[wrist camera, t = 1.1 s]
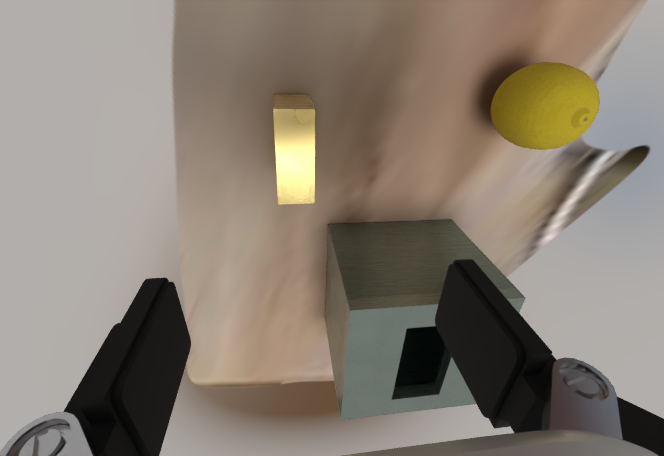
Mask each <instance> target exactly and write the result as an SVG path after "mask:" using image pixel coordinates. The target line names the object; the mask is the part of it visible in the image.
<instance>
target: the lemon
mask: <svg viewBox="0 0 664 456" xmlns="http://www.w3.org/2000/svg"><path fill="white" fill-rule="evenodd" d="M599 104H600V99H599V91H598V89H597V86H596V84H595V82H594V81H593V80H592V79H591V78H590V77H589V76H588V75H587V74H586V73H584V72H583V71H581V70H579V69H576V68H574V67H572V66H569V65H566V64H562V63H549V62H544V63H537V64H533V65H529V66H526V67H524V68H522V69H520V70H518V71H516V72H514V73H513V74H512V75H510V76H509V77H508V78H507V79H505V80H504V82H503V83H502V84H501V85H500V86H499V88H498V89H497V91H496V93H495V95H494V97H493V100H492V104H491V118H492V122H493V124H494V126H495V129H496V130H497V131H498V132H499V133H500V135H501V136H502V137H503V138H504V139H506V140H507V141H509V142H511V143H513V144H515V145H517V146H520V147H524V148H530V149H538V150H545V149H553V148H558V147H561V146H564V145H566V144H569V143H571V142H572V141H574V140H576V139H577V138H579V137H580V136H581V135H582V134H583V133H585V132H586V130H587V129H588V128H589V127H590V126H591V124H592V123H593V121H594V119H595V118H596V115H597V112H598V109H599Z"/></svg>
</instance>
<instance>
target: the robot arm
mask: <svg viewBox="0 0 664 456" xmlns="http://www.w3.org/2000/svg"><path fill="white" fill-rule="evenodd" d="M435 325H436V328H437V330H438V332H439V334H440V335H441V337H442V339H443V341H444V343H445V345H446V347H447V349H448V351H449V352H450V354H451V356H452V358H453V360H454V362H455V364H456V366H457V368H458V369H459V371H460V373H461V375H462V377H463V379H464V381H465V383H466V385H467V386H468V388H469V390H470V392H471V394H472V396H473V398H474V400H475V402H476V403H477V405H478V407H479V409H480V411H481V413H482V414H483V416H484V417H486V418H489V420H490V421H491V423H492V425H493V427H494V428H501V427H508V426H511V428H512V429H513V431H514V433H513V434H503V435H494V436H485V437H477V438H470V439H462V440H455V441H447V442H439V443H432V444H424V445H417V446H409V447H402V448H396V449H395V448H394V449H387V450H381V451H372V452H366V453H358V454H350V455H343V456H664V419H663V418H661V417H659V416H656V415H655V414H652V413H650V412H648V411H646V410H644V409H642V408H640V407H638V406H636V405H633V404H632V403H629V402H627V401H625V400H623V399H621V398H619V397H617V395H616V392H615V389H614V387H613V385H612V384H611V382H610V381H609V380H608V379H607V378H606V377H605V376H604V375H603V374H602V373H601V372H600V371H598V370H597V369H596V368H594V367H593V366H591V365H589V364H587V363H585V362H583V361H580V360H577V359H574V358H561V359H558V360H556V359H555V358H554V357H553V355H552V351H551V350H550V349H549V348H548V347H547V346H546V344H545V343H544V342H543V341H542V340H541V339H540V337H539V336H538V335H537V334H536V333H535V331H534V330H533V329H532V328H531V327H530V326H529V325H528V323H527V322H526V321H525V320H524V319H523V317H522V316H521V315H520V314H519V313H518V312H517V310H516V309H515V308H514V307H513V306H512V305H511V303H510V302H509V301H508V300H507V299H506V298H505V296H504V295H503V294H502V293H501V292H500V291H499V289H498V288H497V287H496V286H495V285H494V283H493V282H492V281H491V280H490V279H489V278H488V276H487V275H486V274H485V273H484V272H483V271H482V269H481V268H480V267H479V266H478V265H477V264H476V262H475V261H474V260H472V259H462V260H455V261H454V262H453V264H450V265H449V267H448V270H447V274H446V278H445V282H444V286H443V289H442V293H441V297H440V301H439V304H438V308H437V312H436V316H435ZM190 347H191V339H190V335H189V332H188V329H187V325H186V322H185V318H184V315H183V311H182V308H181V305H180V301H179V298H178V294H177V291H176V287H175V285H174V283H173V282H169V281H168V279H167V278H152V279H146V280H145V281H144V282H143V284H142V286H141V287H140V289H139V291H138V293H137V295H136V297H135V298H134V300H133V302H132V304H131V305H130V307H129V309H128V311H127V312H126V314H125V316H124V318H123V319H122V321H121V323H118V324H116V325H115V326H114V327H113V328H112V329H111V331H110V333H109V334H108V336H107V338H106V339H105V341H104V343H103V345H102V346H101V348H100V350H99V352H98V353H97V355H96V357H95V359H94V360H93V362H92V364H91V366H90V367H89V369H88V370H87V372H86V374H85V376H84V377H83V379H82V381H81V382H80V384H79V386H78V388H77V390H76V391H75V393H74V394H73V396H72V398H71V400H70V401H69V403H68V405H67V407H66V408H65V410H64V412H56V413H52V414H48V415H45V416H43V417H41V418H39V419H37V420H35V421H33V422H31V423H29V424H28V425H27V426H25V427H24V428H22V429H21V430H20V431H18V432H17V433H16V434H15V435H14V436H13V437H12V438H11V439H10V440H9V441H8V442H7V444H6V445H5V446H4V448H3V449H2V450H1V452H0V456H159V454H160V451H161V447H162V443H163V440H164V437H165V434H166V430H167V427H168V423H169V420H170V416H171V413H172V410H173V406H174V403H175V399H176V396H177V393H178V389H179V386H180V382H181V379H182V375H183V372H184V369H185V365H186V362H187V358H188V355H189V352H190Z"/></svg>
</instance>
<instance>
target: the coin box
mask: <svg viewBox="0 0 664 456" xmlns="http://www.w3.org/2000/svg"><path fill="white" fill-rule="evenodd" d="M462 259H472V260H474V261H475V262H476V264H477V265H478V266H479V267H480V268H481V269H482V271H483V272H484V273H485V274H486V275H487V276H488V278H489V279H490V280H491V281H492V282H493V283H494V285H495V286H496V287H497V288H498V289H499V291H500V292H501V293H502V294H503V295H504V296H505V298H506V299H507V300H508V301H509V302H510V303H511V305H512V306H513V307H514V308H515V309H516V310H517V312H518V313H519V311H520V309H521V307H522V305H523V302H524V300H525V297H524V296H523V295H522V294H521V293H520V292H519V290H517V288H516V287H515V286H514V285H513V284H512V283H511V282H510V281H509V280H508V279H507V278H506V277H505V276H504V275H503V274H502V272H501V271H500V270H499V269H498V268H497V267H496V266H495V265H494V264H493V263H492V262H491V261H490V260H489V259H488V258H487V257H486V256H485V255H484V254H483V252H482V251H481V250H480V249H479V248H478V247H477V246H476V245H475V244H474V243H473V242H472V241H471V240H470V239H469V238H468V237H467V236H466V235H465V233H464V232H463V231H462V230H461V229H460V228H459V227H458V226H457V225H456V224H455V223H454V222H453V221H452V220H427V221H400V222H372V223H344V224H328V240H327V271H326V301H325V323H326V329H327V336H328V342H329V348H330V355H331V361H332V368H333V374H334V381H335V387H336V393H337V400H338V406H339V413H340V419H341V420H345V419H352V418H361V417H370V416H378V415H387V414H395V413H403V412H412V411H420V410H429V409H437V408H445V407H454V406H462V405H471V404H477V403H476V402H475V400H474V398H473V396H472V394H471V392H470V390H469V388H468V386H467V385H466V383H465V381H464V379H463V377H462V375H461V373H460V371H459V369H458V368H457V366H456V364H455V362H454V360H453V358H452V356H451V354H450V352H449V351H448V349H447V347H446V345H445V343H444V341H443V339H442V337H441V335H440V334H439V332H438V330H437V328H436V325H435V316H436V312H437V308H438V304H439V301H440V297H441V293H442V289H443V286H444V282H445V278H446V274H447V270H448V267H449V265H450V264H453V262H454V261H455V260H462Z"/></svg>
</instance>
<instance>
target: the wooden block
mask: <svg viewBox="0 0 664 456" xmlns="http://www.w3.org/2000/svg"><path fill="white" fill-rule="evenodd" d="M273 118H274V136H275V154H276V173H277V191H278V204H309V203H314V193H315V108H314V106H313V104H312V102H311V100H310V98H309V96H308V95H300V94H275V98H274V105H273Z"/></svg>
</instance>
